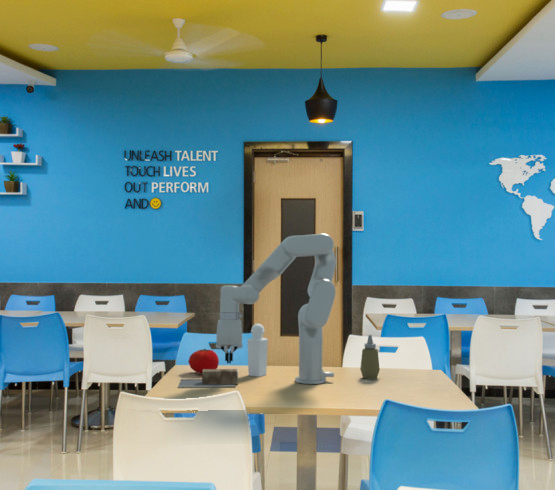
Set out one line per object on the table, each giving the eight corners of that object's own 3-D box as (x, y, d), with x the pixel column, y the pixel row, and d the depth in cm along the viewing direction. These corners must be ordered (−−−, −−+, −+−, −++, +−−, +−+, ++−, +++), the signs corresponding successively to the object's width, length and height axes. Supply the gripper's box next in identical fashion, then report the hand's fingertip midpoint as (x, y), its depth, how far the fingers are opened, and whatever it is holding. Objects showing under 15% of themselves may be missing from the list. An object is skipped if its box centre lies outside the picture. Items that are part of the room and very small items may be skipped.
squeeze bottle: (358, 379, 243) (358, 335, 243) (362, 375, 250) (363, 333, 251) (377, 380, 240) (377, 336, 240) (381, 377, 247) (381, 334, 248)
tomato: (224, 373, 253) (225, 349, 253) (203, 377, 244) (203, 352, 244) (204, 369, 262) (204, 345, 262) (182, 373, 252) (183, 348, 253)
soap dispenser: (259, 377, 245) (260, 324, 246) (246, 375, 248) (247, 323, 249) (267, 374, 251) (268, 323, 251) (255, 373, 254) (255, 322, 255)
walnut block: (238, 369, 235) (202, 369, 233) (238, 371, 230) (202, 371, 228) (237, 381, 234) (202, 381, 233) (238, 384, 229) (202, 384, 228)
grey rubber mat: (235, 380, 239) (235, 378, 239) (235, 387, 225) (235, 385, 225) (180, 380, 237) (181, 379, 237) (177, 387, 223) (177, 386, 223)
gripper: (248, 315, 237) (247, 361, 236) (211, 315, 236) (210, 361, 235) (248, 317, 229) (247, 364, 229) (210, 317, 228) (209, 364, 227)
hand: (228, 362), depth 232 cm, fingers closed
